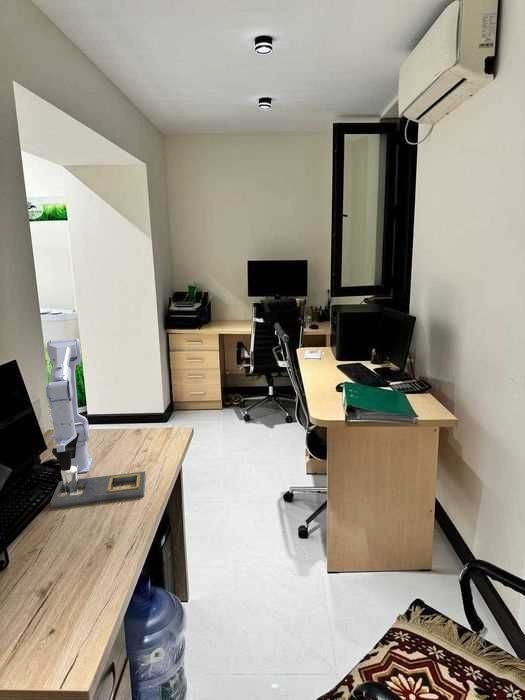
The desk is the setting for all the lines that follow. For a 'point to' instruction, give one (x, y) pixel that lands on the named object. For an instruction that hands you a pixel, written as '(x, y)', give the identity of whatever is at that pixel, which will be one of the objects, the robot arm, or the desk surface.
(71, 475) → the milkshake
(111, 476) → the grey board with holes
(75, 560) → the desk surface
